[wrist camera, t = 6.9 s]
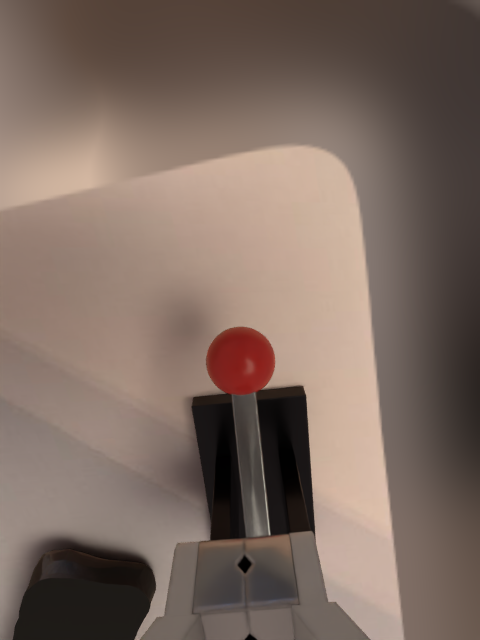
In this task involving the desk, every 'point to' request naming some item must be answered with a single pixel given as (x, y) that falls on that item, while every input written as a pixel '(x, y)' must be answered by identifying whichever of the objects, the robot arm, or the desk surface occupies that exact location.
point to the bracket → (278, 458)
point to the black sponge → (84, 598)
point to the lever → (245, 412)
